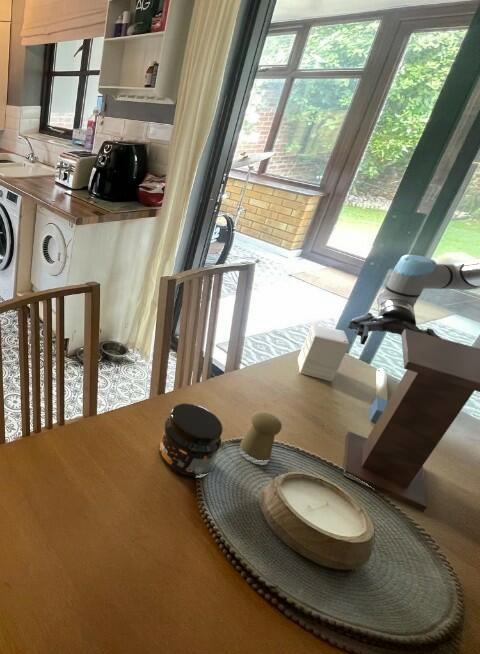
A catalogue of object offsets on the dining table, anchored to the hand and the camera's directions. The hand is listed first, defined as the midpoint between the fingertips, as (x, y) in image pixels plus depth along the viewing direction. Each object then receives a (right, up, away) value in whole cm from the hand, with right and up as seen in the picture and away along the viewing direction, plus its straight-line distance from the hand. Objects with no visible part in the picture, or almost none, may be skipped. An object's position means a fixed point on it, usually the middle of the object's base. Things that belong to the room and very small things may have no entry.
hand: (399, 350), depth 106 cm
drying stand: (-24, -22, -19) cm, 38 cm away
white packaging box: (-14, -8, +10) cm, 19 cm away
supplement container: (-64, -21, -16) cm, 70 cm away
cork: (-48, -20, -15) cm, 54 cm away
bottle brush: (-5, -12, 0) cm, 13 cm away
